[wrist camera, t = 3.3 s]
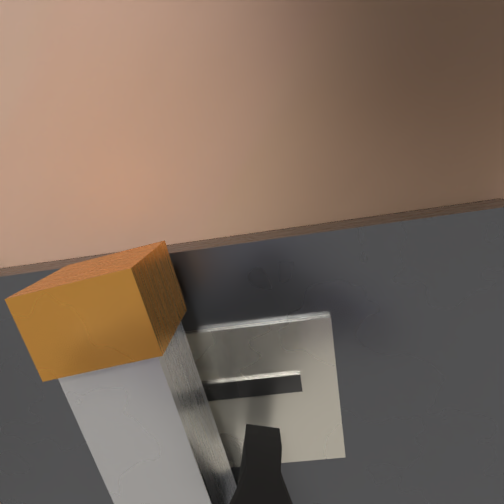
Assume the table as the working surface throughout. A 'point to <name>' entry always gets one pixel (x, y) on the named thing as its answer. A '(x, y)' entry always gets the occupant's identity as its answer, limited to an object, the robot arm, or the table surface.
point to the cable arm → (128, 375)
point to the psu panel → (313, 361)
